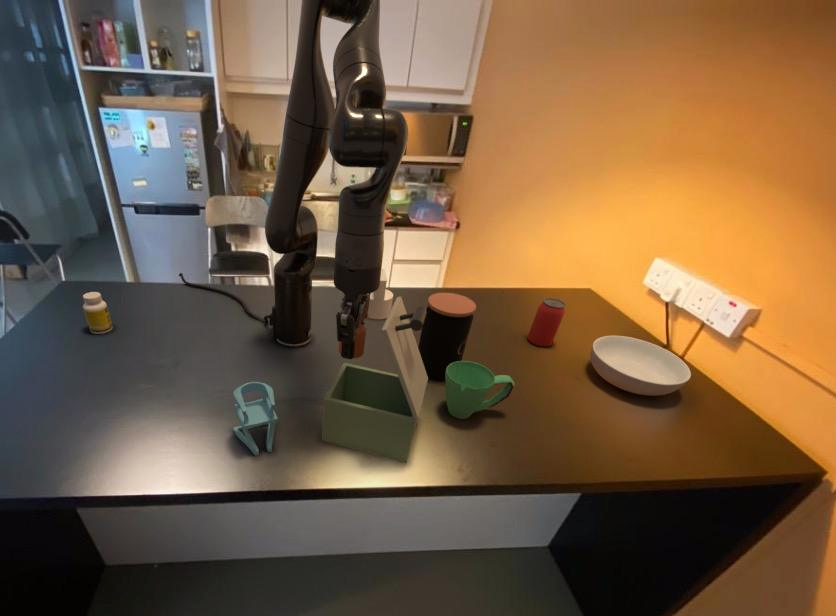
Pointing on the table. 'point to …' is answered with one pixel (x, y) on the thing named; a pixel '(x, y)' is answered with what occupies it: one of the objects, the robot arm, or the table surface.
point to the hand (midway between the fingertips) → (351, 350)
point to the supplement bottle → (97, 313)
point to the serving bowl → (638, 365)
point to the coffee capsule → (358, 342)
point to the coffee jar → (445, 332)
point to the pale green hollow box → (368, 413)
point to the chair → (255, 414)
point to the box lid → (407, 352)
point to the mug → (472, 388)
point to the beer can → (546, 322)
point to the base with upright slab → (380, 300)
